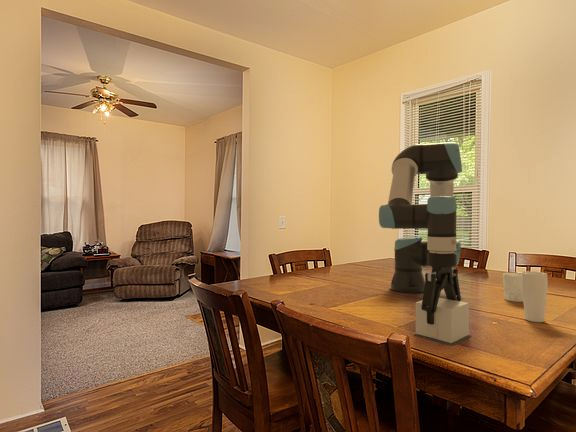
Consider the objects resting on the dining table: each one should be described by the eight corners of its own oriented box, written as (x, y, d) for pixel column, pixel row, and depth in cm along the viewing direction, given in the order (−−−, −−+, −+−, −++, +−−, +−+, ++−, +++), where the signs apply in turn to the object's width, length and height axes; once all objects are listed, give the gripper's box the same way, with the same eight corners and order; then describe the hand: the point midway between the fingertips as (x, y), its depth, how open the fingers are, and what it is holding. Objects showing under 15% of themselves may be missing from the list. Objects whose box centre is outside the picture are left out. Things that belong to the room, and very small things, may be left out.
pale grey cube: (415, 333, 104) (415, 302, 103) (434, 326, 110) (434, 296, 110) (451, 343, 96) (451, 309, 96) (469, 334, 102) (469, 302, 102)
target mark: (413, 335, 104) (413, 334, 104) (433, 327, 111) (433, 326, 111) (452, 345, 95) (452, 345, 95) (471, 336, 102) (471, 335, 102)
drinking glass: (516, 317, 119) (516, 271, 119) (536, 317, 120) (536, 270, 120) (532, 324, 112) (532, 275, 112) (553, 323, 113) (553, 274, 113)
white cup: (530, 302, 138) (530, 276, 138) (507, 302, 140) (507, 275, 140) (521, 297, 146) (521, 272, 146) (499, 297, 148) (499, 272, 147)
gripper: (433, 256, 92) (434, 344, 93) (473, 249, 107) (474, 325, 107) (406, 254, 98) (407, 337, 98) (448, 247, 113) (449, 320, 113)
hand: (442, 331), depth 103 cm, fingers closed on pale grey cube, 10 cm apart
